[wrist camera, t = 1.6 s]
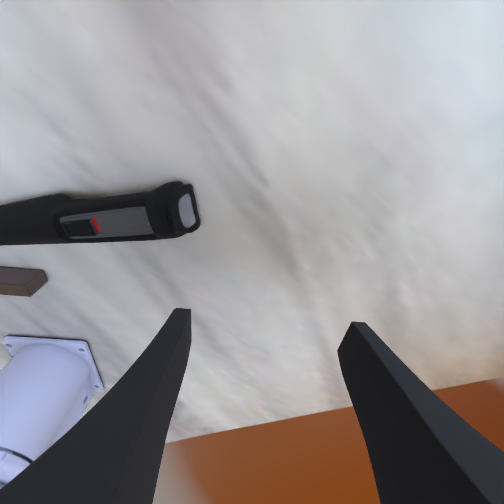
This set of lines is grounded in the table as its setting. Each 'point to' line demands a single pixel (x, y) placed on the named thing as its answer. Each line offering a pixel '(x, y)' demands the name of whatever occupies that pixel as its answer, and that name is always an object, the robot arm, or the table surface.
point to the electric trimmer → (101, 217)
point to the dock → (21, 281)
